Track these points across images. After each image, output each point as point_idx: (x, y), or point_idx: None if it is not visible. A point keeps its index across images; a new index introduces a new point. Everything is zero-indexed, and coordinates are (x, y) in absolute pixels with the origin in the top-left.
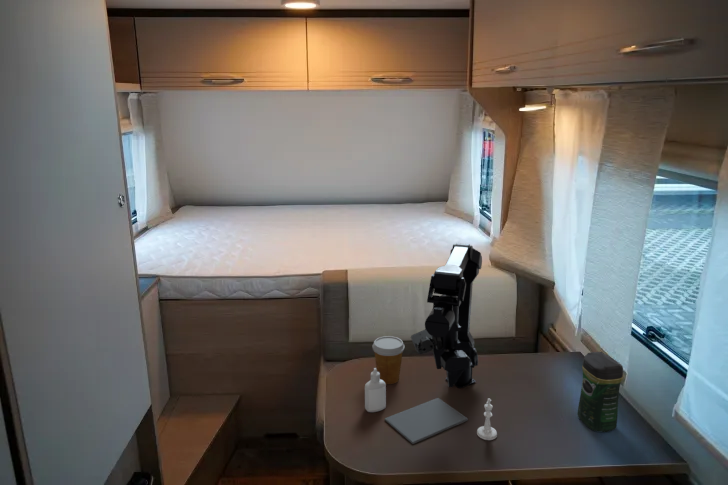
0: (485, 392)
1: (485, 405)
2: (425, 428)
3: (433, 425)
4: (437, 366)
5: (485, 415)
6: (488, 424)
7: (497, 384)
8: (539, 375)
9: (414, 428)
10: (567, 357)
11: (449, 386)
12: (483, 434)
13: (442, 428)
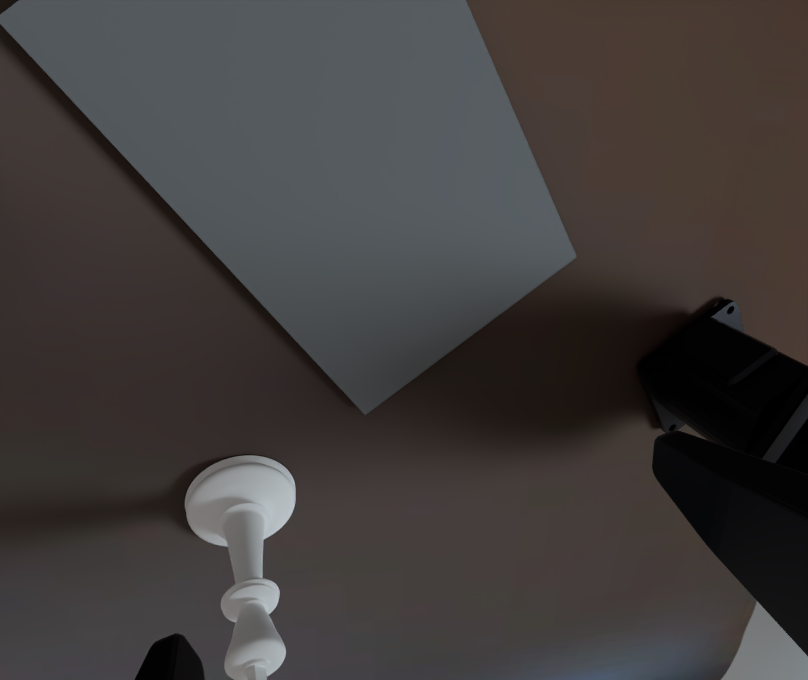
0: (583, 469)
1: (252, 652)
2: (229, 154)
3: (275, 217)
4: (688, 462)
5: (231, 594)
6: (230, 556)
7: (627, 505)
8: (643, 615)
9: (217, 58)
10: (708, 661)
11: (148, 664)
12: (203, 499)
13: (245, 277)
